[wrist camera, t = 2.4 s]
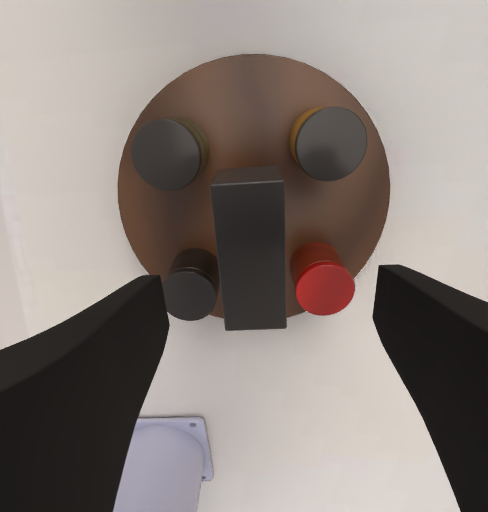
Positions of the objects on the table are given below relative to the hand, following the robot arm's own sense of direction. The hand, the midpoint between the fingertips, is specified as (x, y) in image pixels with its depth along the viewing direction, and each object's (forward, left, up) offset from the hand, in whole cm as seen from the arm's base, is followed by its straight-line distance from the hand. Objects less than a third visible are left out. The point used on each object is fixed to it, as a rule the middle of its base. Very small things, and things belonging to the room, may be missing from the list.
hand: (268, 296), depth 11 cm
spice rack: (-1, +1, -10) cm, 10 cm away
